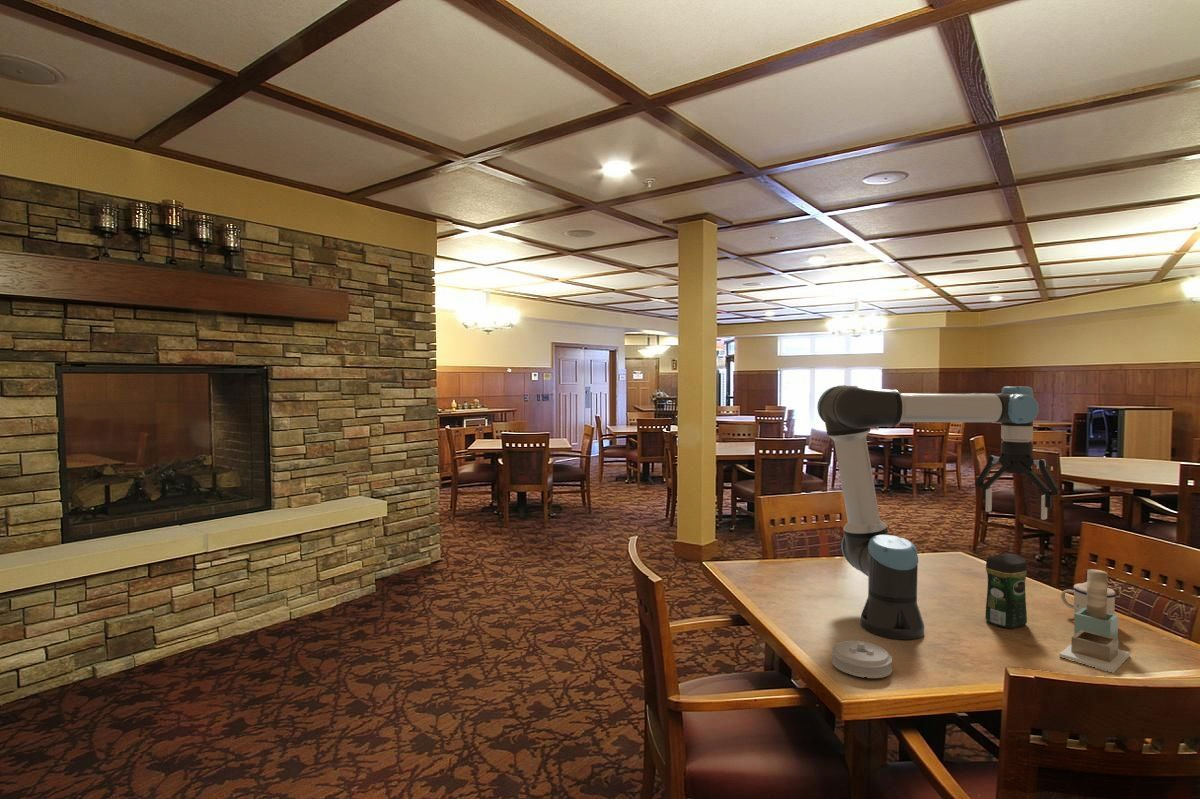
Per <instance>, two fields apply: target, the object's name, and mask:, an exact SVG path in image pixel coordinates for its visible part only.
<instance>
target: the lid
mask: <svg viewBox="0 0 1200 799" xmlns="http://www.w3.org/2000/svg"><path fill="white" fill-rule="evenodd" d="M831 654H832V657H831V664H832V665H833V666H834V667H835V668H836V669H837V670H839V671H841V672H843V673H846V674H849V675H852V676H855V677H860V678H864V677H867V679H880V678H881V679H882V678H885V677H888V676H890V675H891V674H892V672H893V667H892V665H891V664H892V662H893V657H892V655H891V654H890V653H889V652H888V651H887V650H886V649H884V648H883V647H881V646H880V645H877V644H874V643H871V642H868V641H863V640H853V639H852V640H851V639H850V640H849V639H848V640H843V641H839V642H838V643H836V644H834V645H832V647H831Z"/></svg>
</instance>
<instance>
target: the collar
mask: <svg viewBox="0 0 1200 799" xmlns="http://www.w3.org/2000/svg"><path fill="white" fill-rule="evenodd" d="M1070 645H1071V652H1074V653H1078V654H1081V655H1085V656H1088V657H1092V658H1096V659H1099V660H1103V661H1106V662H1111V661H1112V660H1113V659H1114V658H1115V657H1116V656H1117V655H1118V649H1119V638H1118V639H1115V638H1111V637H1107V636H1103V635H1100V634H1096V633H1092V632H1088V631H1084V630H1080V631H1079V632H1077V633H1076V634H1075V635H1074V634H1073V635H1072V636H1071V644H1070Z"/></svg>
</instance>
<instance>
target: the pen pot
mask: <svg viewBox="0 0 1200 799" xmlns="http://www.w3.org/2000/svg"><path fill="white" fill-rule="evenodd" d="M1086 613H1087V608H1082V609H1081V610H1079V611H1078V612H1077V613H1075V619H1074V630H1073V631H1074V633H1073V636H1074V635H1075V634H1076V633H1077V632H1079V631H1080V630H1084V631H1088V632H1092V633H1096V634H1100V635H1103V636H1107V637H1111V638H1115V639H1119V615H1118V614H1115V613H1114V614H1109V613H1107V620H1103V619H1099V618H1094V617H1090V616H1086Z"/></svg>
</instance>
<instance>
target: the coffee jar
mask: <svg viewBox="0 0 1200 799" xmlns="http://www.w3.org/2000/svg"><path fill="white" fill-rule="evenodd" d="M985 562H986V564H985V570H986V574H987V591H986V592H987V593H986V604H985V620H986V621H987V622H989V624H991V625H992V626H996V627H999V626H1000V627H1001V628H1007V629H1015V628H1020V627H1023V626H1026V625H1027V623H1028V617H1027V615H1028V614H1027V601H1026V600H1027V597H1026V579H1027V578H1026V577H1027V574H1028V571H1027V570H1028V567H1027V566H1028V565H1027V561H1026V559H1025V558H1024V556H1021V555H1017V554H1013V553H1009V552H1008V553H1006V554H1000V555H989V556H988V557H986V559H985Z"/></svg>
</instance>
